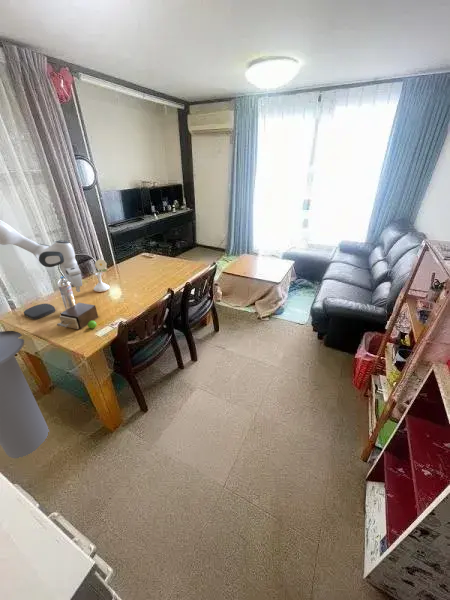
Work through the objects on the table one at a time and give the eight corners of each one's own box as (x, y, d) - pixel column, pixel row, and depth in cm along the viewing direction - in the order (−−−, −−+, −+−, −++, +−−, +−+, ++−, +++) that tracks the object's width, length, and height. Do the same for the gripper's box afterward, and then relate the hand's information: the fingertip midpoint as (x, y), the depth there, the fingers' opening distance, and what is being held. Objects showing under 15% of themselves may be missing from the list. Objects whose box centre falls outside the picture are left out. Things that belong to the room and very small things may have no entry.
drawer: (71, 333, 147) (67, 324, 143) (55, 330, 149) (51, 320, 146) (94, 317, 162) (91, 308, 159) (79, 314, 165) (76, 305, 162)
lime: (93, 330, 151) (91, 323, 149) (86, 329, 152) (84, 322, 150) (99, 326, 155) (97, 319, 153) (92, 325, 157) (90, 318, 154)
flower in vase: (92, 293, 194) (84, 262, 182) (96, 287, 204) (88, 257, 192) (110, 292, 197) (104, 261, 185) (113, 286, 206) (107, 256, 195)
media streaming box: (34, 321, 159) (33, 316, 158) (22, 314, 165) (20, 310, 164) (58, 310, 171) (56, 307, 169) (45, 305, 177) (44, 301, 175)
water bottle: (74, 307, 175) (64, 273, 163) (80, 310, 171) (70, 276, 160) (64, 311, 170) (53, 277, 158) (69, 315, 166) (58, 279, 155)
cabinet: (81, 329, 152) (77, 316, 148) (64, 325, 155) (60, 313, 151) (98, 317, 165) (95, 305, 161) (82, 313, 168) (78, 302, 164)
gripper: (58, 264, 155) (64, 285, 161) (69, 274, 142) (75, 296, 149) (69, 262, 159) (75, 282, 165) (81, 271, 146) (87, 292, 153)
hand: (75, 289), depth 157 cm, fingers open, 8 cm apart
